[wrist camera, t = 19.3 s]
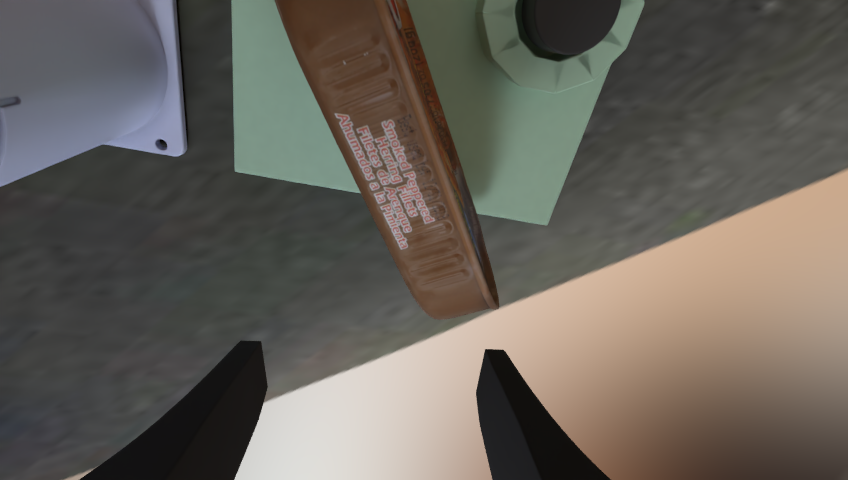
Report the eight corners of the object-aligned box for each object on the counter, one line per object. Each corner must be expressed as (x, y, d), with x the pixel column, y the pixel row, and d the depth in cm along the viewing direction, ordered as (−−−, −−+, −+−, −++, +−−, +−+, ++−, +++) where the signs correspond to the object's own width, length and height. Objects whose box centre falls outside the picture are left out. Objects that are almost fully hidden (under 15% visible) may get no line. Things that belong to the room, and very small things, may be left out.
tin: (485, 238, 21) (528, 353, 14) (430, 256, 22) (444, 378, 14) (372, -103, 14) (341, -230, 7) (294, -66, 15) (186, -151, 7)
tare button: (510, 42, 16) (522, 44, 14) (536, -50, 14) (552, -59, 13) (581, 59, 16) (600, 63, 14) (613, -29, 15) (638, -35, 13)
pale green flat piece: (242, 164, 20) (218, 185, 17) (240, -167, 14) (203, -209, 12) (540, 216, 22) (559, 242, 20) (643, -52, 16) (688, -65, 14)
